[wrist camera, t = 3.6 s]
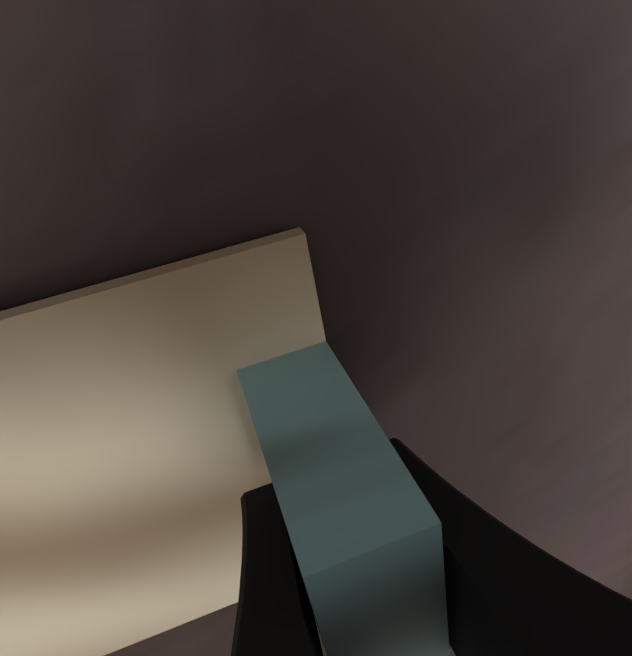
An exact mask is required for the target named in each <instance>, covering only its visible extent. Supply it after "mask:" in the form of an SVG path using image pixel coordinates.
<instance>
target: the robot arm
mask: <svg viewBox="0 0 632 656" xmlns="http://www.w3.org/2000/svg"><path fill="white" fill-rule="evenodd" d="M389 441H390V442H391V444H392V446H393V447H394V449H395V450H396V452H397V453H398V455H399V457H400V458H401V460H402V461H403V463H404V465H405V466H406V468H407V469H408V471H409V472H410V474H411V476H412V477H413V479H414V480H415V482H416V483H417V485H418V487H419V488H420V490H421V491H422V493H423V494H424V496H425V498H426V499H427V501H428V502H429V504H430V505H431V507H432V509H433V510H434V512H435V513H436V515H437V516H438V518H439V520H440V521H441V526H442V542H443V558H444V573H445V589H446V605H447V620H448V636H449V644H450V646H451V648H452V649H453V651H454V653H455V654H456V656H632V600H631V599H629V598H627V597H625V596H623V595H621V594H619V593H617V592H615V591H613V590H611V589H609V588H608V587H606V586H604V585H602V584H600V583H599V582H597V581H595V580H593V579H591V578H590V577H588V576H586V575H584V574H583V573H581V572H579V571H577V570H575V569H574V568H572V567H570V566H569V565H567V564H565V563H564V562H562V561H560V560H559V559H557V558H555V557H554V556H552V555H550V554H549V553H547V552H545V551H544V550H542V549H541V548H539V547H538V546H536V545H534V544H533V543H531V542H530V541H528V540H527V539H525V538H524V537H522V536H521V535H519V534H518V533H516V532H515V531H513V530H512V529H510V528H509V527H507V526H506V525H504V524H503V523H502V522H500V521H499V520H497V519H496V518H495V517H493V516H492V515H490V514H489V513H488V512H486V511H485V510H483V509H482V508H481V507H479V506H478V505H477V504H475V503H474V502H473V501H471V500H470V499H469V498H467V497H466V496H465V495H464V494H462V493H461V492H460V491H458V490H457V489H456V488H454V487H453V486H452V485H451V484H449V483H448V482H447V481H446V480H444V479H443V478H442V477H441V476H440V475H438V474H437V473H436V472H435V471H434V470H432V469H431V468H430V467H429V466H428V465H426V464H425V463H424V462H423V461H422V460H421V459H419V458H418V457H417V456H416V455H415V454H414V453H413V452H412V451H411V450H409V449H408V448H407V447H406V446H405V445H404V444H403V443H402V442H401V441H400V440H398V439H396V438H392V439H389ZM240 501H241V509H242V563H241V575H240V587H239V599H238V608H237V616H236V623H235V630H234V637H233V644H232V651H231V656H323V652H322V648H321V643H320V639H319V635H318V630H317V626H316V622H315V617H314V613H313V609H312V606H311V603H310V600H309V597H308V594H307V590H306V587H305V584H304V581H303V578H302V575H301V571H300V568H299V565H298V562H297V559H296V556H295V552H294V549H293V546H292V543H291V540H290V537H289V533H288V530H287V527H286V524H285V521H284V518H283V515H282V511H281V508H280V505H279V502H278V499H277V496H276V493H275V490H274V486H273V483H269V484H266V485H264V486H261V487H258V488H256V489H253V490H250V491H247V492H245V493H244V494H243V495H242V497H241V498H240Z"/></svg>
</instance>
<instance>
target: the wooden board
mask: <svg viewBox="0 0 632 656" xmlns="http://www.w3.org/2000/svg"><path fill="white" fill-rule="evenodd" d="M269 483H273V486H274V490H275V493H276V496H277V499H278V502H279V505H280V508H281V511H282V515H283V518H284V521H285V524H286V527H287V530H288V533H289V537H290V540H291V543H292V546H293V549H294V552H295V556H296V559H297V562H298V565H299V568H300V571H301V575H302V578H303V581H304V584H305V587H306V590H307V594H308V597H309V600H310V603H311V606H312V609H313V613H314V616H315V619H316V622H317V625H318V628H319V632H320V635H321V638H322V641H323V644H324V647H325V650H326V653H327V656H450V652H449V636H448V620H447V605H446V589H445V573H444V558H443V542H442V526H441V521H440V520H439V518H438V516H437V515H436V513H435V512H434V510H433V509H432V507H431V505H430V504H429V502H428V501H427V499H426V498H425V496H424V494H423V493H422V491H421V490H420V488H419V487H418V485H417V483H416V482H415V480H414V479H413V477H412V476H411V474H410V472H409V471H408V469H407V468H406V466H405V465H404V463H403V461H402V460H401V458H400V457H399V455H398V453H397V452H396V450H395V449H394V447H393V446H392V444H391V442H390V441H389V439H388V438H387V436H386V435H385V433H384V431H383V430H382V428H381V427H380V425H379V424H378V422H377V420H376V419H375V417H374V416H373V414H372V413H371V411H370V409H369V408H368V406H367V405H366V403H365V402H364V400H363V398H362V397H361V395H360V394H359V392H358V390H357V389H356V387H355V386H354V384H353V383H352V381H351V379H350V378H349V376H348V375H347V373H346V372H345V370H344V368H343V367H342V365H341V364H340V362H339V361H338V359H337V357H336V356H335V354H334V353H333V351H332V350H331V348H330V346H329V345H328V343H327V342H326V338H325V333H324V328H323V323H322V317H321V312H320V307H319V302H318V297H317V291H316V286H315V281H314V276H313V271H312V266H311V260H310V255H309V250H308V245H307V240H306V235H305V233H304V232H303V230H302V229H301V228H300V227H298V228H294V229H291V230H287V231H284V232H280V233H277V234H273V235H269V236H266V237H262V238H259V239H255V240H252V241H248V242H245V243H241V244H238V245H234V246H230V247H227V248H223V249H220V250H216V251H213V252H209V253H206V254H202V255H198V256H195V257H191V258H188V259H184V260H181V261H177V262H174V263H170V264H167V265H163V266H159V267H156V268H152V269H149V270H145V271H142V272H138V273H135V274H131V275H127V276H124V277H120V278H117V279H113V280H110V281H106V282H103V283H99V284H96V285H92V286H88V287H85V288H81V289H78V290H74V291H71V292H67V293H64V294H60V295H56V296H53V297H49V298H46V299H42V300H39V301H35V302H32V303H28V304H25V305H21V306H17V307H14V308H10V309H7V310H3V311H0V656H104V655H107V654H109V653H112V652H114V651H117V650H119V649H122V648H124V647H127V646H129V645H132V644H134V643H137V642H139V641H142V640H144V639H147V638H149V637H152V636H154V635H157V634H159V633H162V632H164V631H167V630H169V629H172V628H174V627H177V626H179V625H182V624H184V623H187V622H189V621H192V620H194V619H197V618H199V617H202V616H204V615H207V614H209V613H212V612H214V611H217V610H219V609H222V608H224V607H227V606H229V605H232V604H234V603H237V602H238V599H239V587H240V575H241V563H242V509H241V501H240V498H241V497H242V495H243V494H244V493H245V492H247V491H250V490H253V489H256V488H258V487H261V486H264V485H266V484H269Z"/></svg>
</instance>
